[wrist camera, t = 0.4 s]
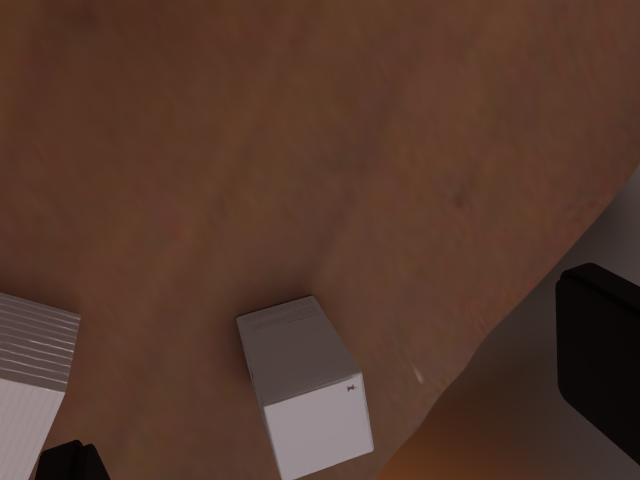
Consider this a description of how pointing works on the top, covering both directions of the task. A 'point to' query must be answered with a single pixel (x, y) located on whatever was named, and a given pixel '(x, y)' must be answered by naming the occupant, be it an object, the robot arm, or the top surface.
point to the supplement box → (305, 387)
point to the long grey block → (31, 378)
